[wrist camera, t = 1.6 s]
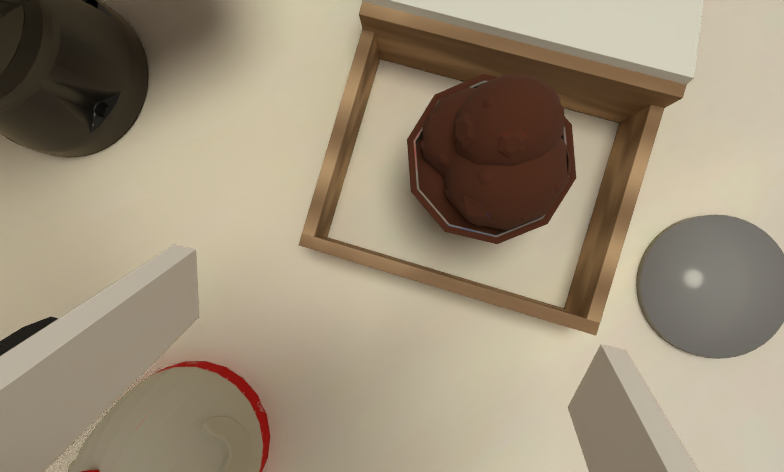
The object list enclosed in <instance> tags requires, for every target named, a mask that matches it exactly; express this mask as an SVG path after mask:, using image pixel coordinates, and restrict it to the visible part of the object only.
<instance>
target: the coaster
mask: <svg viewBox="0 0 784 472" xmlns="http://www.w3.org/2000/svg"><path fill="white" fill-rule="evenodd" d="M637 295H638V300H639V304H640V306H641V309H642V312H643V314H644V316H645V318H646V320H647V321H648V323H649V324H650V325H651V327H652V328H653V329H654V330H655V331H656V332H657V334H658V335H660V336H661V337H662V338H663V339H664V340H666V341H667V342H669V343H670V344H672V345H673V346H675V347H677V348H679V349H681V350H684V351H686V352H689V353H691V354H694V355H697V356H702V357H707V358H730V357H736V356H740V355H743V354H746V353H749V352H751V351H753V350H755V349H757V348H758V347H760V346H762V345H763V344H765V343H766V342H767V341H768V340H769V339H771V338H772V337H773V335H774V334H775V333H776V332H777V331H778V330H779V328H780V327H781V325H782V324H783V322H784V254H783V252H782V250H781V249H780V247H779V246H778V245H777V243H776V242H775V241H774V240H773V239H772V238H771V237H770V236H769V235H768V234H767V233H765V232H764V231H763V230H762V229H760V228H759V227H757V226H755V225H754V224H752V223H749V222H747V221H745V220H742V219H739V218H736V217H731V216H726V215H707V216H697V217H692V218H688V219H685V220H682V221H679V222H677V223H675V224H673V225H671V226H670V227H668V228H667V229H665V230H664V231H663V232H661V233H660V234H659V235H658V236H657V237H656V238H655V239H654V240H653V241H652V242H651V244H650V245H649V247H648V248H647V249H646V251H645V253H644V255H643V257H642V259H641V262H640V265H639V269H638V274H637Z"/></svg>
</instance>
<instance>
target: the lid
mask: <svg viewBox="0 0 784 472" xmlns="http://www.w3.org/2000/svg"><path fill="white" fill-rule="evenodd" d="M362 2H366V3H370V4H374V5H378V6H382V7H386V8H390V9H394V10H397V11H401V12H405V13H409V14H413V15H417V16H421V17H425V18H429V19H432V20H436V21H440V22H444V23H448V24H452V25H456V26H460V27H464V28H467V29H471V30H475V31H479V32H483V33H487V34H491V35H495V36H499V37H503V38H506V39H510V40H514V41H518V42H522V43H526V44H530V45H534V46H538V47H541V48H545V49H549V50H553V51H557V52H561V53H565V54H569V55H573V56H576V57H580V58H584V59H588V60H592V61H596V62H600V63H604V64H608V65H611V66H615V67H619V68H623V69H627V70H631V71H635V72H639V73H643V74H647V75H650V76H654V77H658V78H662V79H666V80H670V81H674V82H678V83H682V84H685V85H686V84H687V83H689V82H690V81H691V80H692V79H693V78H694V74H695V66H696V59H697V51H698V43H699V35H700V27H701V19H702V11H703V3H704V0H362Z"/></svg>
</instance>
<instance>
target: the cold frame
mask: <svg viewBox="0 0 784 472" xmlns="http://www.w3.org/2000/svg"><path fill="white" fill-rule="evenodd" d="M359 16H360V20H361V24H362V28H363V29H362V33H361V36H360V39H359V43H358V46H357V50H356V53H355V56H354V60H353V63H352V67H351V70H350V73H349V77H348V80H347V83H346V87H345V90H344V94H343V97H342V100H341V104H340V107H339V110H338V114H337V117H336V121H335V124H334V127H333V131H332V134H331V137H330V141H329V144H328V148H327V151H326V154H325V158H324V161H323V165H322V168H321V171H320V175H319V178H318V181H317V185H316V188H315V192H314V195H313V198H312V202H311V205H310V208H309V212H308V215H307V219H306V222H305V225H304V229H303V232H302V235H301V239H300V242H299V245H300V246H303V247H306V248H310V249H313V250H316V251H320V252H323V253H326V254H329V255H333V256H336V257H339V258H343V259H346V260H349V261H352V262H356V263H359V264H362V265H366V266H369V267H372V268H376V269H379V270H382V271H385V272H389V273H392V274H395V275H399V276H402V277H405V278H408V279H412V280H415V281H418V282H422V283H425V284H428V285H431V286H435V287H438V288H441V289H445V290H448V291H451V292H454V293H458V294H461V295H464V296H468V297H471V298H474V299H478V300H481V301H484V302H487V303H491V304H494V305H497V306H501V307H504V308H507V309H510V310H514V311H517V312H520V313H524V314H527V315H530V316H533V317H537V318H540V319H543V320H547V321H550V322H553V323H556V324H560V325H563V326H566V327H570V328H573V329H576V330H580V331H583V332H586V333H589V334H593V335H596V334H597V331H598V328H599V324H600V321H601V318H602V314H603V311H604V308H605V304H606V301H607V298H608V294H609V291H610V288H611V284H612V281H613V278H614V274H615V271H616V268H617V264H618V261H619V258H620V254H621V251H622V248H623V244H624V241H625V238H626V234H627V231H628V227H629V224H630V221H631V217H632V214H633V211H634V207H635V204H636V201H637V197H638V194H639V191H640V187H641V184H642V181H643V177H644V174H645V171H646V167H647V164H648V161H649V157H650V154H651V151H652V147H653V144H654V141H655V137H656V134H657V131H658V127H659V124H660V121H661V117H662V114H663V111H664V108H665V107H667V106H669V105H671V104H672V103H674V102H676V101H678V100H680V99H682V98H683V95H684V92H685V88H686V85H687V84H686V85H685V84H682V83H678V82H674V81H670V80H666V79H662V78H658V77H654V76H650V75H647V74H643V73H639V72H635V71H631V70H627V69H623V68H619V67H615V66H611V65H608V64H604V63H600V62H596V61H592V60H588V59H584V58H580V57H576V56H573V55H569V54H565V53H561V52H557V51H553V50H549V49H545V48H541V47H538V46H534V45H530V44H526V43H522V42H518V41H514V40H510V39H506V38H503V37H499V36H495V35H491V34H487V33H483V32H479V31H475V30H471V29H467V28H464V27H460V26H456V25H452V24H448V23H444V22H440V21H436V20H432V19H429V18H425V17H421V16H417V15H413V14H409V13H405V12H401V11H397V10H394V9H390V8H386V7H382V6H378V5H374V4H370V3H366V2H362V5H361V9H360V12H359ZM380 59H383V60H386V61H390V62H394V63H398V64H401V65H405V66H409V67H413V68H416V69H420V70H424V71H428V72H431V73H435V74H439V75H443V76H446V77H450V78H454V79H458V80H461V81H465V82H466V81H468V80H470V79H473V78H475V77H477V76H480V75H482V74H487V75H492V76H496V77H499V76H502V75H504V74H513V75H529V76H535V77H536V78H538V79H539V80H541V81H542V82H543V83H545V84H546V85H548V86H550V88H552V89H553V90H554V91H555V92H556V93H557V95H558V96H559V98H560V103H561V105H562V107H563V108H567V109H570V110H574V111H578V112H582V113H585V114H589V115H593V116H597V117H600V118H604V119H608V120H612V121H615V122H619V123H620V124H619V127H618V130H617V134H616V137H615V140H614V144H613V147H612V150H611V154H610V157H609V161H608V164H607V167H606V171H605V174H604V177H603V181H602V184H601V187H600V191H599V194H598V197H597V201H596V204H595V207H594V211H593V214H592V217H591V221H590V224H589V227H588V231H587V234H586V237H585V241H584V244H583V247H582V251H581V254H580V257H579V261H578V264H577V268H576V271H575V274H574V278H573V281H572V284H571V288H570V291H569V294H568V298H567V301H566V304H565V308H560V307H557V306H554V305H550V304H547V303H544V302H540V301H537V300H534V299H530V298H527V297H524V296H520V295H517V294H514V293H510V292H507V291H504V290H500V289H497V288H494V287H490V286H487V285H484V284H480V283H477V282H474V281H471V280H467V279H464V278H461V277H457V276H454V275H451V274H447V273H444V272H441V271H437V270H434V269H431V268H427V267H424V266H421V265H417V264H414V263H411V262H407V261H404V260H401V259H397V258H394V257H391V256H387V255H384V254H381V253H377V252H374V251H371V250H368V249H364V248H361V247H358V246H354V245H351V244H348V243H344V242H341V241H338V240H334V239H331V238H328V237H327V236H328V233H329V229H330V226H331V222H332V219H333V216H334V212H335V209H336V206H337V202H338V199H339V195H340V192H341V189H342V185H343V182H344V179H345V175H346V172H347V168H348V165H349V162H350V158H351V155H352V152H353V148H354V145H355V141H356V138H357V135H358V131H359V128H360V125H361V121H362V118H363V114H364V111H365V108H366V104H367V101H368V98H369V94H370V91H371V87H372V84H373V81H374V77H375V74H376V71H377V67H378V64H379V60H380Z"/></svg>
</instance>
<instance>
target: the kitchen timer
mask: <svg viewBox="0 0 784 472" xmlns="http://www.w3.org/2000/svg"><path fill="white" fill-rule="evenodd" d="M269 442H270V432H269V426H268V420H267V414H266V412H265V410H264V408H263V406H262V404H261V401H260V399H259V397H258V395H257V394H256V393H255V391H254V390H253V389H252V388H251V387H250V386H249V385H248V383H247V382H246V381H245V380H244V379H243V378H242V377H240V376H238V375H237V374H235V373H234V372H232V371H231V370H229V369H228V368H226V367H223V366H220V365H217V364H213V363H210V362H206V361H189V362H182V363H179V364H176V365H173V366H170V367H166V368H164V369H162V370H160V371H158V372H156V373H154V374H153V375H151V376H150V377H148V378H147V379H145V380H144V381H143V382H141V383H140V384H138V385H137V386H135V387H134V388H132V389H131V390H130V391H129V392H127V393H126V394H125V395H124V396H123V397H122V398H121V399H120V400H119V401H118V402H117V403H116V404H115V406H114V407H113V408H112V409H111V410H110V411H109V412H108V413H107V415H106V416H105V417H104V418H103V419H102V420H101V422H100V423H99V424H98V425H97V427H96V428H95V429H94V430H93V432H92V433H91V434H90V435H89V437H88V438H87V439H86V441H85V442H84V444H83V446H82V448H81V449H80V451H79V453H78V456H77V458H76V460H74V461H73V462H72V463H71V464H70V466H69V468H68V472H262V470H263V468H264V465H265V463H266V460H267V458H268V450H269Z"/></svg>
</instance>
